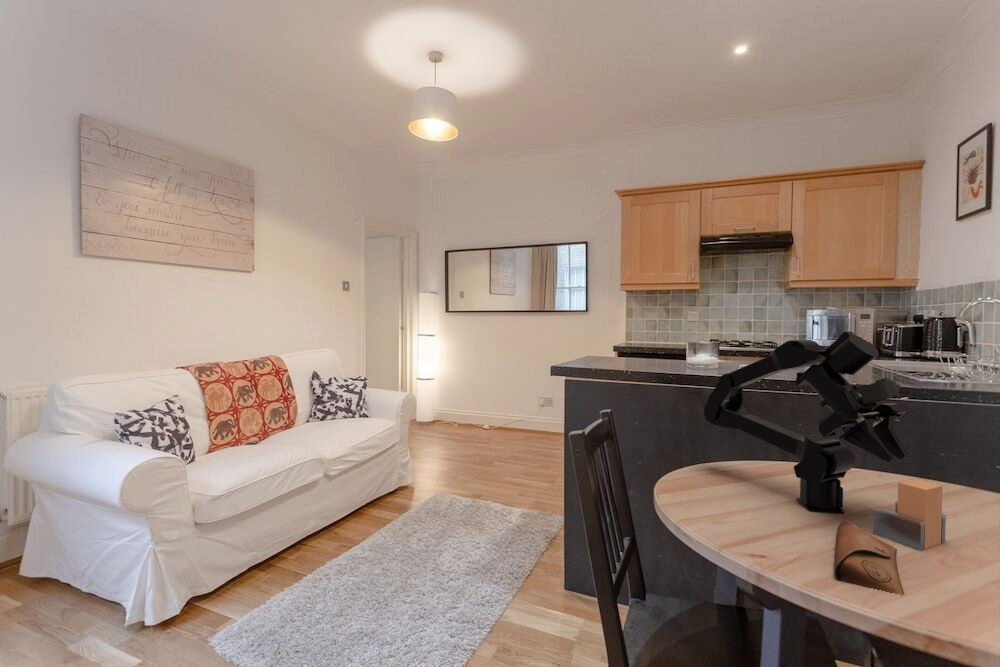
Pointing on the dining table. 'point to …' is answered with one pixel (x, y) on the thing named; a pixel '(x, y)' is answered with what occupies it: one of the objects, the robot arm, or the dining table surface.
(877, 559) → the sunglasses case
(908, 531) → the silver twin-wall channel
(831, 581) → the dining table surface
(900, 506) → the block
